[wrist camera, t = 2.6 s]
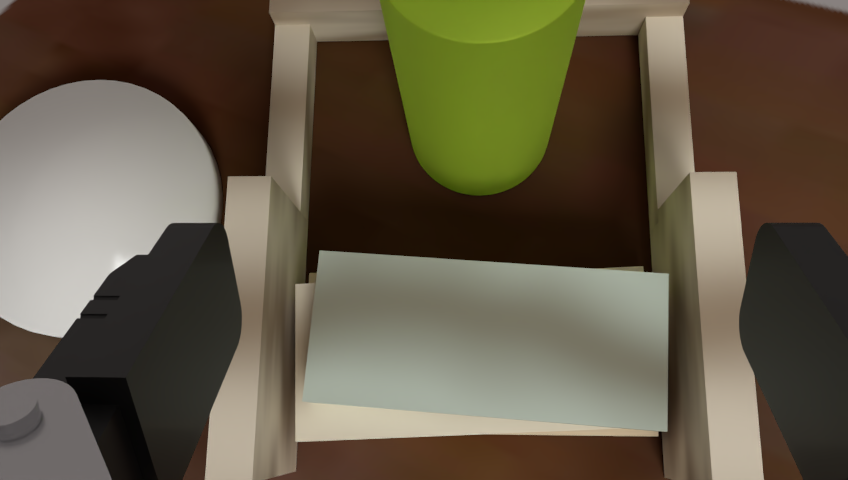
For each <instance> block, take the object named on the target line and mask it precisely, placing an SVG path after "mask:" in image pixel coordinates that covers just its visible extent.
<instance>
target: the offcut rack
mask: <svg viewBox="0 0 848 480" xmlns="http://www.w3.org/2000/svg"><path fill="white" fill-rule="evenodd" d="M688 5H689V0H585V4H584V8H583V12H582V16H581V19H580V23H579V27H578V31H577V35H576V36H613V35H638V41H639V58H640V75H641V92H642V109H643V126H644V142H645V159H646V176H647V193H648V210H649V226H650V243H651V260H652V273H651V272H644V269H643V266H635V267H615V268H596V269H591V268H576V267H561V266H546V265H531V264H516V263H501V262H486V261H471V260H456V259H441V258H426V257H411V256H396V255H381V254H366V253H351V252H336V251H321V250H320V251H319V260H318V268H317V273H309V283H307V284H305V278H306V257H307V237H308V217H309V196H310V176H311V156H312V135H313V115H314V95H315V74H316V54H317V42H321V41H370V40H388V35H387V31H386V26H385V22H384V17H383V13H382V8H381V4H380V0H270V6H269V14H270V16H271V18H272V20H273V22H274V24H275V36H274V52H273V67H272V83H271V99H270V114H269V130H268V146H267V161H266V176H228V183H227V196H226V209H225V223H224V228H225V230H226V233H227V237H228V242H229V247H230V252H231V257H232V262H233V267H234V272H235V277H236V282H237V287H238V292H239V297H240V302H241V309H242V328H241V335H240V340H239V344H238V347H237V349H236V351H235V354H234V356H233V359H232V361H231V363H230V366H229V368H228V371H227V373H226V376H225V378H224V380H223V383H222V385H221V388H220V390H219V392H218V395H217V397H216V400H215V402H214V404H213V407H212V409H211V412H210V420H209V434H208V447H207V460H206V473H205V480H265V479H268V478H272V477H276V476H280V475H284V474H287V473H291V472H295V471H296V461H297V442H306V441H330V440H355V439H379V438H404V437H428V436H453V435H477V434H508V435H585V436H658V431H661V432H662V445H663V462H664V477H665V478H669V479H672V480H764V478H763V467H762V455H761V444H760V433H759V421H758V410H757V399H756V388H755V376H754V372H753V370H752V368H751V366H750V364H749V362H748V359H747V357H746V355H745V353H744V351H743V348H742V344H741V340H740V333H739V313H740V307H741V302H742V298H743V293H744V289H745V285H746V275H745V264H744V252H743V241H742V230H741V218H740V207H739V196H738V185H737V173H736V172H695V171H694V158H693V145H692V131H691V118H690V105H689V91H688V78H687V65H686V52H685V38H684V25H683V15H684V13H685V11H686V9H687V7H688Z"/></svg>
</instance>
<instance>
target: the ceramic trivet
mask: <svg viewBox="0 0 848 480" xmlns="http://www.w3.org/2000/svg"><path fill="white" fill-rule="evenodd" d="M222 213H223V190H222V181H221V176H220V172H219V169H218V165H217V162H216V160H215V157H214V155H213V153H212V150H211V148H210V147H209V145H208V143H207V142H206V140H205V138H204V137H203V136H202V134H201V133H200V132H199V131H198V130H197V128H196V127H195V126H194V125H193V124H192V123H191V121H190V120H189V119H188V118H187V117H186V116H185V115H184V114H183V113H182V112H181V111H180V110H178V109H177V108H176V107H175V106H174V105H173V104H172V103H170V102H169V101H167V100H166V99H164V98H163V97H161V96H160V95H158V94H156V93H154V92H152V91H150V90H148V89H146V88H143V87H140V86H137V85H134V84H130V83H125V82H120V81H112V80H88V81H79V82H74V83H69V84H65V85H62V86H59V87H55V88H52V89H49V90H47V91H45V92H43V93H41V94H38V95H36V96H34V97H32V98H31V99H29V100H27V101H26V102H24V103H22V104H21V105H19V106H18V107H16V108H15V109H14V110H12V111H11V112H10V113H8V114H7V115H6V116H5V117H4V118H3V119H2V120H1V121H0V317H1V318H3V319H5V320H7V321H8V322H10V323H12V324H14V325H15V326H18V327H21V328H23V329H26V330H28V331H31V332H35V333H40V334H44V335H49V336H53V337H58V338H63V337H64V335H65V334H66V332H67V331H68V330H69V328H70V327H71V326H72V324H73V323H74V322H75V320H76V319H77V318H80V313H81V312H82V311H83V309H84V308H85V306H86V305H87V304H88V302H89V301H90V300H93V299H94V294H95V293H96V291H97V290H98V289H99V287H100V286H101V285H102V283H103V282H104V280H105V279H106V278H107V276H108V275H109V274H110V273H111V272H113V271H114V270H115V269H117V268H118V267H120V266H121V265H123V264H124V263H125V262H127V261H128V260H130V259H131V258H133V257H134V256H135V255H148V254H149V253H150V251H151V250H152V248H153V247H154V245H155V244H156V242H157V241H158V239H159V238H160V236H161V235H162V233H163V232H164V231H165V229H166V228H167V226H168V225H169V224H171V223H220V224H221V220H222Z"/></svg>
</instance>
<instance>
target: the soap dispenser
mask: <svg viewBox="0 0 848 480" xmlns="http://www.w3.org/2000/svg"><path fill="white" fill-rule="evenodd" d="M380 4H381V8H382V13H383V17H384V22H385V26H386V31H387V35H388V40H389V44H390V49H391V53H392V58H393V62H394V67H395V71H396V76H397V80H398V85H399V89H400V94H401V98H402V103H403V107H404V112H405V116H406V121H407V125H408V130H409V134H410V139H411V143H412V147H413V150H414V153H415V155H416V158H417V160H418V161H419V163H420V165H421V166H422V168H423V169H424V170H425V171H426V173H427V174H428V175H429V176H430V177H431V178H433V179H434V180H435V181H436V182H438V183H439V184H441V185H442V186H444V187H446V188H448V189H450V190H453V191H455V192H458V193H462V194H467V195H479V196H480V195H491V194H496V193H500V192H503V191H506V190H508V189H511V188H513V187H515V186H516V185H518V184H520V183H521V182H522V181H524V180H525V179H526V178H527V177H528V176H530V175H531V174H532V172H533V171H534V170H535V169H536V168H537V166H538V165H539V163H540V162H541V160H542V158H543V156H544V154H545V151H546V148H547V145H548V141H549V137H550V134H551V130H552V126H553V122H554V118H555V115H556V111H557V107H558V103H559V99H560V96H561V92H562V88H563V84H564V80H565V77H566V73H567V69H568V65H569V61H570V57H571V54H572V50H573V46H574V42H575V38H576V35H577V31H578V27H579V23H580V19H581V16H582V12H583V8H584V4H585V0H380Z"/></svg>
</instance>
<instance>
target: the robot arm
mask: <svg viewBox="0 0 848 480" xmlns="http://www.w3.org/2000/svg"><path fill="white" fill-rule="evenodd" d="M241 328H242V309H241V302H240V297H239V292H238V287H237V282H236V277H235V272H234V267H233V262H232V257H231V252H230V247H229V242H228V237H227V233H226V230H225V228H224V227H223V225H222V224H220V223H171V224H169V225H168V226H167V228H166V229H165V231H164V232H163V233H162V235H161V236H160V238H159V239H158V241H157V242H156V244H155V245H154V247H153V248H152V250H151V251H150V253H149V254H148V255H135V256H134V257H133V258H131V259H130V260H128V261H127V262H125V263H124V264H123V265H121V266H120V267H118V268H117V269H115V270H114V271H113V272H111V273H110V274H109V275H108V276H107V278H106V279H105V280H104V282H103V283H102V285H101V286H100V287H99V289H98V290H97V291H96V293H95V294H94V299H93V300H90V301H89V302H88V304H87V305H86V306H85V308H84V309H83V311H82V312H81V313H80V318H77V319H76V320H75V322H74V323H73V324H72V326H71V327H70V328H69V330H68V331H67V332H66V334H65V335H64V337H63V338H62V339H61V341H60V342H59V343H58V345H57V346H56V348H55V349H54V350H53V352H52V353H51V354H50V356H49V357H48V358H47V360H46V361H45V363H44V364H43V365H42V367H41V368H40V369H39V371H38V372H37V374H36V375H35V376H34V378H33V379H27V380H22V381H18V382H14V383H11V384H8V385H5V386H2V387H0V480H182V479H183V477H184V474H185V472H186V470H187V467H188V465H189V462H190V460H191V458H192V455H193V453H194V450H195V448H196V445H197V443H198V441H199V438H200V436H201V433H202V431H203V429H204V426H205V424H206V421H207V419H208V417H209V414H210V412H211V409H212V407H213V404H214V402H215V400H216V397H217V395H218V392H219V390H220V388H221V385H222V383H223V380H224V378H225V376H226V373H227V371H228V368H229V366H230V363H231V361H232V359H233V356H234V354H235V351H236V349H237V347H238V344H239V340H240V335H241ZM739 333H740V340H741V344H742V348H743V351H744V353H745V355H746V357H747V359H748V362H749V364H750V366H751V368H752V370H753V372H754V375H755V377H756V379H757V381H758V383H759V385H760V387H761V390H762V392H763V394H764V396H765V398H766V400H767V402H768V405H769V407H770V409H771V411H772V413H773V415H774V417H775V420H776V422H777V424H778V426H779V428H780V430H781V432H782V435H783V437H784V439H785V441H786V443H787V445H788V447H789V450H790V452H791V454H792V456H793V458H794V460H795V462H796V465H797V467H798V469H799V471H800V473H801V475H802V477H803V480H848V257H847V255H846V254H845V253H844V251H843V250H842V249H841V247H840V246H839V245H838V244H837V242H836V241H835V240H834V238H833V237H832V236H831V235H830V233H829V232H828V231H827V229H826V228H825V227H824V226H823V225H822V224H820V223H765V224H763V225H762V226H761V227H760V229H759V231H758V233H757V236H756V240H755V244H754V249H753V253H752V258H751V262H750V267H749V271H748V276H747V280H746V285H745V289H744V293H743V298H742V302H741V307H740V313H739Z"/></svg>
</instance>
